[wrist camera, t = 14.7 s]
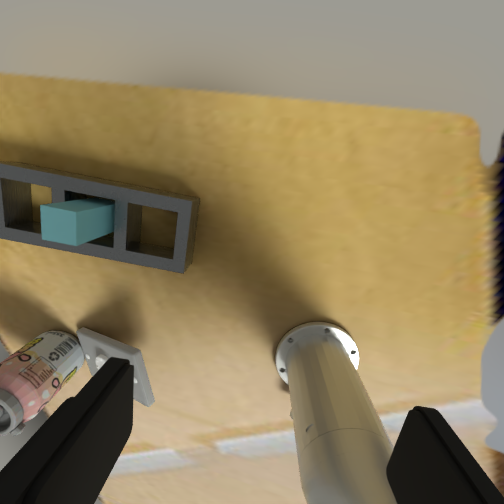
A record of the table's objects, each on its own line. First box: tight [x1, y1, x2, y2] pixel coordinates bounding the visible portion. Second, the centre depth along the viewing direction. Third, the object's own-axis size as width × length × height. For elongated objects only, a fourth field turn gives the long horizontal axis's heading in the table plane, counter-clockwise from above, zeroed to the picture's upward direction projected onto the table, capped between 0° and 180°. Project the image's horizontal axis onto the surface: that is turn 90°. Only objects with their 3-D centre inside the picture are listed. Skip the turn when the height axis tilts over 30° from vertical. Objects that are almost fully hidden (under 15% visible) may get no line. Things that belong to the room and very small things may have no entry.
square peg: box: [40, 197, 115, 246], centre depth 30 cm, size 4×4×9 cm
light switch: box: [76, 327, 155, 407], centre depth 38 cm, size 8×6×14 cm
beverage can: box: [0, 331, 85, 436], centre depth 36 cm, size 9×8×12 cm
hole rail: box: [0, 161, 200, 274], centre depth 33 cm, size 9×24×4 cm, turn 79°
